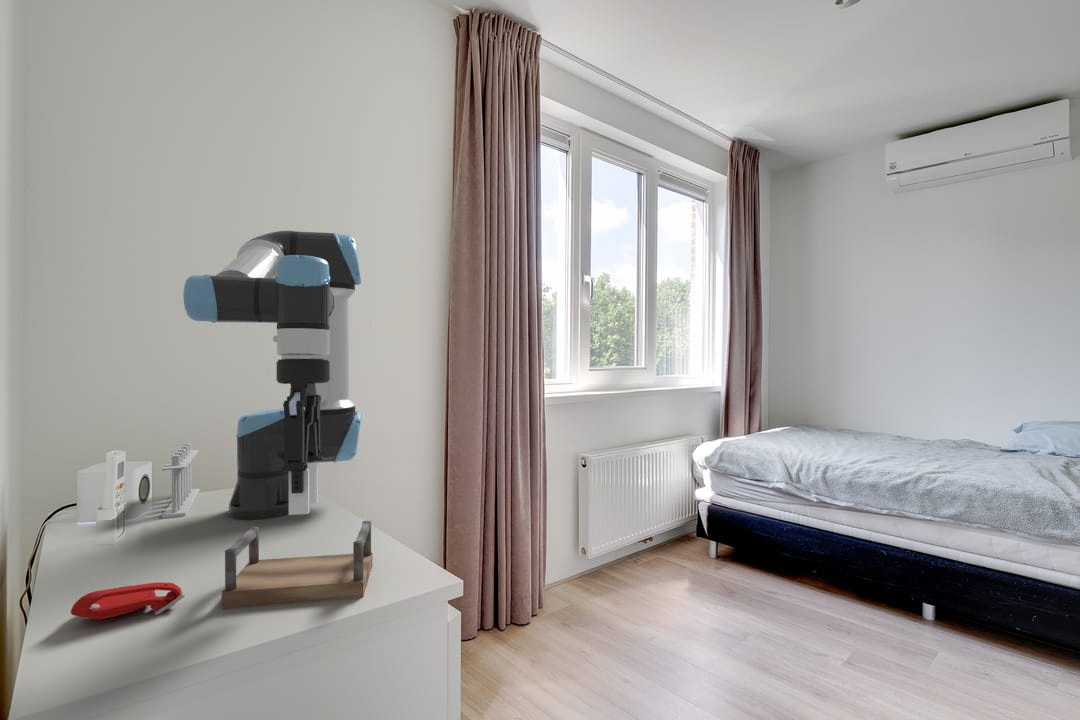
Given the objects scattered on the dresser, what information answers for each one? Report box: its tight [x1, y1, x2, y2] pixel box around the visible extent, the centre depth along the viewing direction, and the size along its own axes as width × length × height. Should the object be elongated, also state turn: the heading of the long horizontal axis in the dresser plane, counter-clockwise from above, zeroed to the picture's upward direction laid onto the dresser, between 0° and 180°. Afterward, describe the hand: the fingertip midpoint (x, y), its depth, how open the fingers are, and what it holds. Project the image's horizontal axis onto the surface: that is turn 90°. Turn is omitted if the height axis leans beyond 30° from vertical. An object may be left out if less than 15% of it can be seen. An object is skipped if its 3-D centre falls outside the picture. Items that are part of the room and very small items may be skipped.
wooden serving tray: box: [221, 520, 373, 610], centre depth 84 cm, size 12×19×8 cm, turn 101°
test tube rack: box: [161, 443, 200, 520], centre depth 131 cm, size 25×4×13 cm, turn 26°
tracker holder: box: [70, 581, 186, 621], centre depth 75 cm, size 12×4×10 cm
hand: (303, 508), depth 84 cm, fingers open, 5 cm apart
